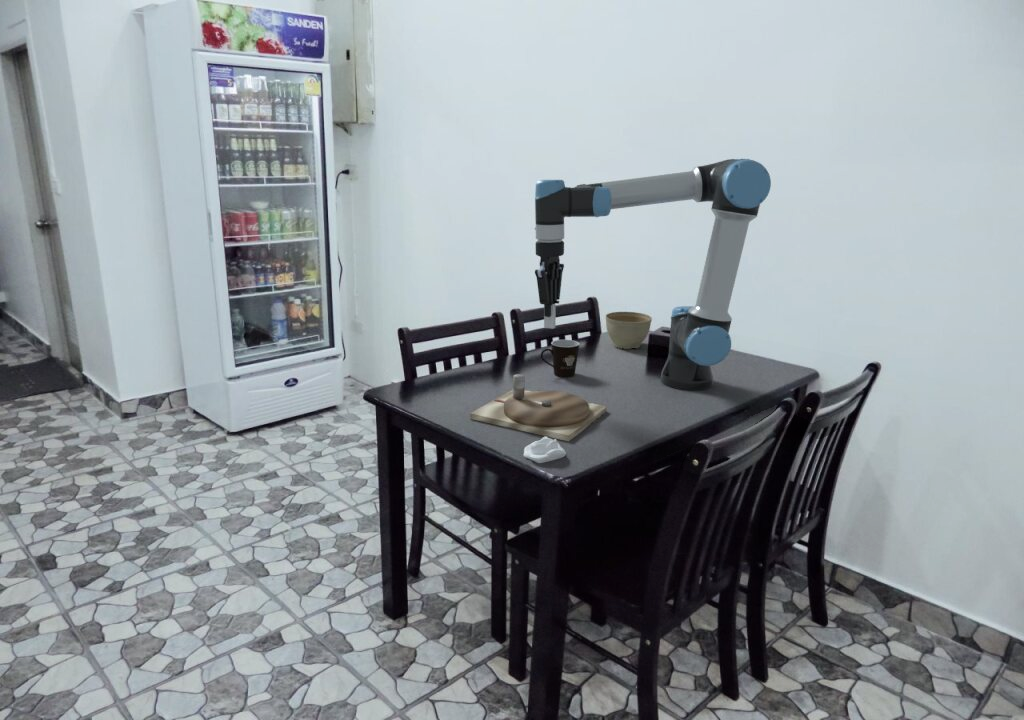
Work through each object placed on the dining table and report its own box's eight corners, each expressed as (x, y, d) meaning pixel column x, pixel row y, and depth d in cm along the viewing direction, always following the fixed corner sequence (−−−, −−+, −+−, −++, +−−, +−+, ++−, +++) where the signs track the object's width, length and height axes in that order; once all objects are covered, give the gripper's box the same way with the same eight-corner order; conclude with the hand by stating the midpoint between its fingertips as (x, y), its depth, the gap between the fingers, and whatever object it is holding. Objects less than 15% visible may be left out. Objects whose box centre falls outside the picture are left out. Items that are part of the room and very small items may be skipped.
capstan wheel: (605, 408, 177) (606, 381, 175) (557, 434, 160) (558, 404, 158) (536, 391, 190) (537, 365, 188) (486, 413, 173) (486, 384, 171)
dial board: (606, 411, 180) (606, 405, 179) (568, 441, 160) (569, 434, 160) (514, 393, 193) (514, 387, 192) (470, 418, 174) (470, 412, 173)
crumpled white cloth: (561, 449, 146) (517, 444, 149) (560, 468, 147) (517, 462, 150) (570, 432, 155) (530, 427, 158) (570, 450, 156) (529, 445, 159)
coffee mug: (578, 370, 214) (579, 340, 211) (578, 379, 206) (579, 347, 203) (541, 369, 215) (542, 338, 212) (539, 377, 207) (540, 346, 204)
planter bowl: (603, 351, 236) (604, 320, 233) (605, 339, 251) (606, 310, 248) (650, 353, 233) (652, 322, 230) (649, 341, 248) (651, 312, 245)
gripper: (548, 237, 185) (548, 321, 192) (525, 242, 175) (526, 331, 181) (573, 238, 182) (572, 323, 189) (551, 243, 171) (551, 334, 178)
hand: (549, 327), depth 185 cm, fingers closed
